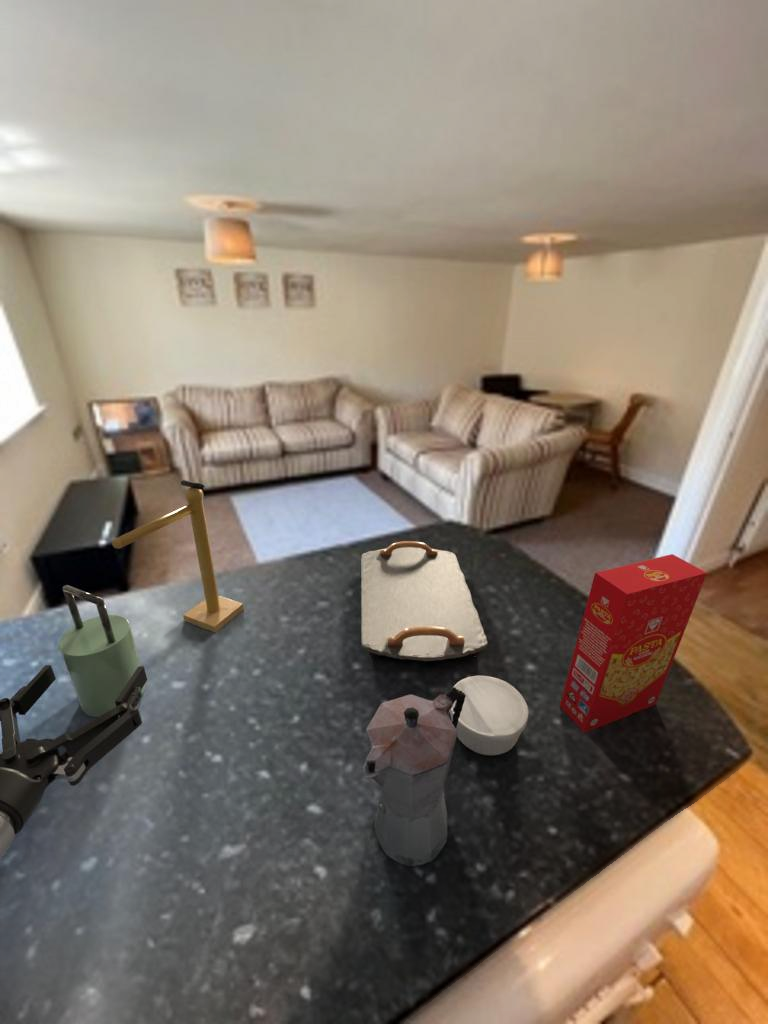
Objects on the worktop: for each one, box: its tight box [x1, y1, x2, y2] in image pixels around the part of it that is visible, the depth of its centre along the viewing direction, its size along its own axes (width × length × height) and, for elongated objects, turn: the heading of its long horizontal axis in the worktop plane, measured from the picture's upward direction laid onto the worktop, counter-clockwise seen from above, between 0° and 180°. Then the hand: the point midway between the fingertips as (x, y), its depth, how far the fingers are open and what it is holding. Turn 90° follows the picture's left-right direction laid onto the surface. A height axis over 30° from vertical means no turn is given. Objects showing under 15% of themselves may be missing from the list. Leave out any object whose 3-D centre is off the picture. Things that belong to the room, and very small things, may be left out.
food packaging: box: [559, 553, 708, 734], centre depth 66 cm, size 15×5×25 cm, turn 112°
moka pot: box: [362, 686, 466, 867], centre depth 50 cm, size 10×15×20 cm, turn 137°
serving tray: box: [360, 540, 489, 662], centre depth 93 cm, size 39×23×6 cm, turn 3°
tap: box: [111, 479, 245, 634], centre depth 78 cm, size 8×20×28 cm, turn 156°
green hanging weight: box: [58, 584, 147, 718], centre depth 67 cm, size 9×9×20 cm
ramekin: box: [448, 675, 529, 756], centre depth 66 cm, size 11×11×5 cm
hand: (97, 672), depth 67 cm, fingers open, 13 cm apart
